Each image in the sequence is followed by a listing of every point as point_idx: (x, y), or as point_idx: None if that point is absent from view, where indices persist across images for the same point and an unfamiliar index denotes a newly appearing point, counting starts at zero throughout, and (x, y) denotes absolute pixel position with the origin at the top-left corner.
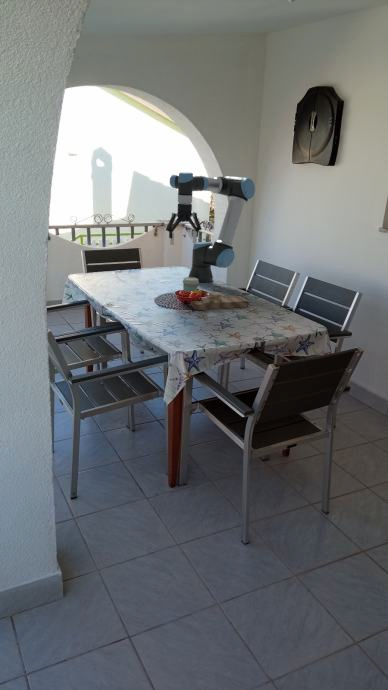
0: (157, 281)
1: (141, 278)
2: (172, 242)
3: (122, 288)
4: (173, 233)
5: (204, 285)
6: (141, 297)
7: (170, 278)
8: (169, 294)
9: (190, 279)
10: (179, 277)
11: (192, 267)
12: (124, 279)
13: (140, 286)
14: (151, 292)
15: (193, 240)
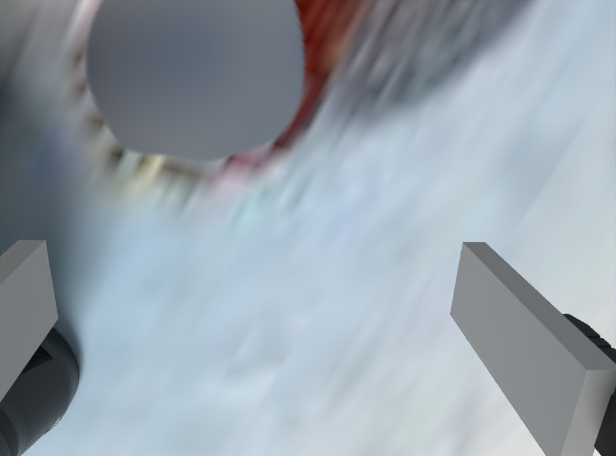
0: (288, 383)
1: (343, 451)
2: (503, 261)
3: (555, 293)
4: (588, 356)
5: (24, 239)
6: (578, 78)
7: (180, 425)
8: (371, 92)
9: None
10: (115, 435)
11: (23, 433)
12: (439, 448)
13: (438, 309)
14: (453, 171)
15: (36, 324)
